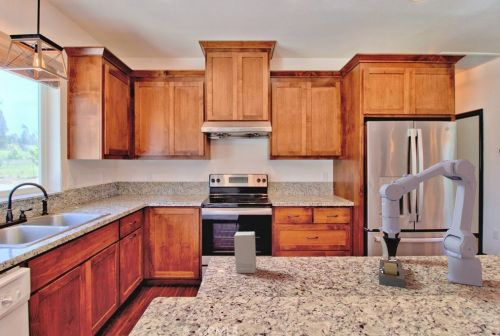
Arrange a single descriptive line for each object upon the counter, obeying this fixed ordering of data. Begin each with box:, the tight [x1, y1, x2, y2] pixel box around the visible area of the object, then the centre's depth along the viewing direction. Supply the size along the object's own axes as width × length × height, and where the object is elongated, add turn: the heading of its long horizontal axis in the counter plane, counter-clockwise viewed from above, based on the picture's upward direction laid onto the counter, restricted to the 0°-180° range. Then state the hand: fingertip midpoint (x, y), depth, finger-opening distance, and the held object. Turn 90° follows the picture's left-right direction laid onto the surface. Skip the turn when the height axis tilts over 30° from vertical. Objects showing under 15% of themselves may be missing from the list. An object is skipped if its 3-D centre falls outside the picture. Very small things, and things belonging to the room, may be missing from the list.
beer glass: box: [379, 225, 397, 260], centre depth 122 cm, size 7×7×15 cm
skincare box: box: [233, 231, 257, 274], centre depth 111 cm, size 8×7×16 cm
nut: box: [384, 262, 397, 276], centre depth 98 cm, size 4×4×6 cm
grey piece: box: [378, 258, 406, 289], centre depth 103 cm, size 8×20×3 cm, turn 153°
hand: (391, 253), depth 99 cm, fingers open, 7 cm apart
